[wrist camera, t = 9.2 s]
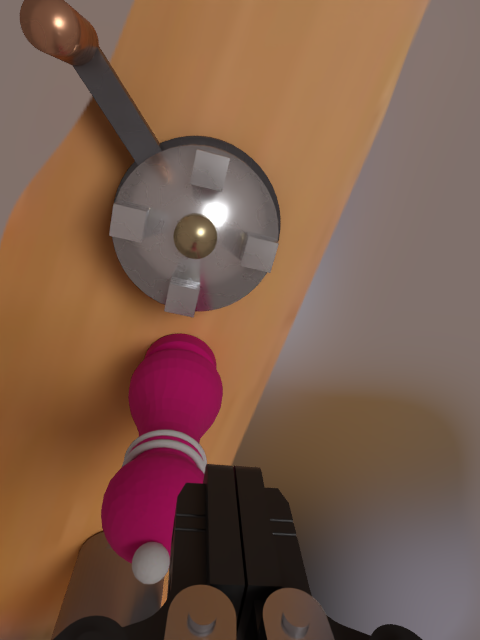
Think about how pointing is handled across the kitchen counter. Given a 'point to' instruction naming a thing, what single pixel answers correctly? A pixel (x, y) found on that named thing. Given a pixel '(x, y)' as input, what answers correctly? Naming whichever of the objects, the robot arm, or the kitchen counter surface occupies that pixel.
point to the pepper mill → (161, 450)
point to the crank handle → (168, 188)
